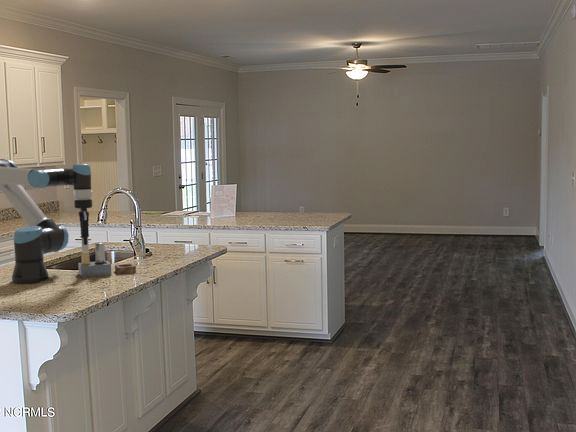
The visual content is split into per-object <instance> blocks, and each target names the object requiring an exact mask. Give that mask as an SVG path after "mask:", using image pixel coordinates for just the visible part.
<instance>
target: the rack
mask: <svg viewBox="0 0 576 432" xmlns="http://www.w3.org/2000/svg"><path fill="white" fill-rule="evenodd" d="M113 272H114V273H115V274H116V276H117V275H127V274H128V275H129V274H138V272H137V267H136V265H135V264H134V263H122V264H121V263H120V264H115V265H114V271H113Z"/></svg>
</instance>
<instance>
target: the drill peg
mask: <svg viewBox="0 0 576 432" xmlns="http://www.w3.org/2000/svg"><path fill="white" fill-rule="evenodd" d="M94 247H95V249H94V250H95V262H96V264H105V261H106V254H105V253H106V250H105V242H96V243H94Z"/></svg>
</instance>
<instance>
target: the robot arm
mask: <svg viewBox="0 0 576 432" xmlns="http://www.w3.org/2000/svg"><path fill="white" fill-rule="evenodd" d="M23 186H27V187H33V188H39V189H40V188H49V187H50V188H51V187H60V186H73V198H74V200H73V201H74V203H73V204H74V209H79V210H80V211H78V217H79V225H80V238H81V252H89V253H90V251H89V250H90V247H89V244H90V243H89V237H90V234H89V232H90V231H89V220H90V219H89V218H90V217H89V216H90V212H89V211H88V209H91V208H93V200H92V196H93V193H94V192H93V190H92V171H91V165H90V164H88V163H74V164H73V165H72V168H62V167H59V168H58V167H57V168H50V169H49V168H47V169H46V168H45V169H41V168H40V169H39V168H25V167H24V168H23V167H18V165H16V163H15V162H14V161H12V160H10V159H4V158H0V193H2V194H3V195H4V196H5V198H6V199H7V200H8V201H9V202H10V204H11V206H13V207H14V209H15V210H16V212H17V213H18V214H19V216H20V217H21V219H23V221H24V222H25V224H27V226H24V227H20V228H17V229H16V230H15V231H14V233H13V249H14V261H15V262H14V263H15V265H14V268H13V272H12V274H11V282H12V283H13V284H20V283H26V284H36V283H35V282H37V283H42V282H41V281H43V282H46V281H48V280H49V278H50V277H49V276H50V275H49V272H48V269H47V267H46V264H45V261H44V260H45V259H44V255H45V254H50V253H56V252H59V251H61V250H64V249H65V248H66V247H67V245H68V243H69V238H70V237H69V232H68V230H67V228H66V226H64V225H62V224H56V222H55V221H54V219H52V218H49V217H48V218H47V216H46V215H45V214H44V213H43V211H42V210H41V208H39V206H38V204H36V202H35V201H34V200H33V198H32V197H31V196H30V194H29V193H28V192H27V191H26V190H25V188H24V187H23ZM45 280H46V281H45Z"/></svg>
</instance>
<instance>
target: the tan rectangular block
mask: <svg viewBox="0 0 576 432" xmlns="http://www.w3.org/2000/svg"><path fill="white" fill-rule="evenodd" d="M90 262H91V260H90V251H89V252H82V251H81V263H82V265H90Z"/></svg>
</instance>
